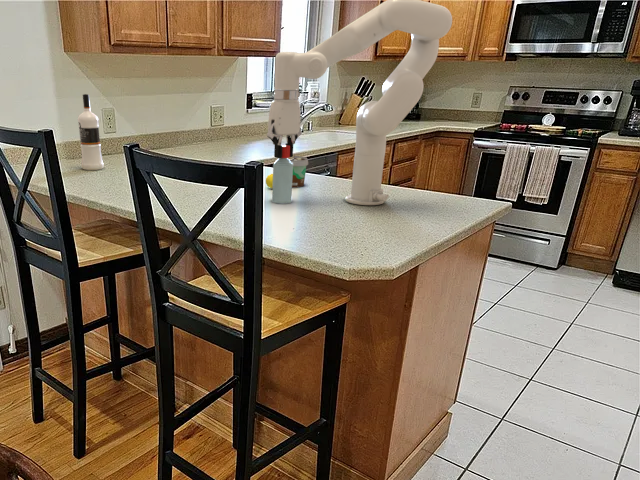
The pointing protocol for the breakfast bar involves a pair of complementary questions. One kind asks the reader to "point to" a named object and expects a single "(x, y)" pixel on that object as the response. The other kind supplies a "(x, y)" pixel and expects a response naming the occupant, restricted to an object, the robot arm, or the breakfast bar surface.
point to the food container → (299, 170)
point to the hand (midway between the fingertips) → (283, 156)
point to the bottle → (282, 181)
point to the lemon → (269, 180)
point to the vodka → (89, 138)
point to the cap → (286, 151)
